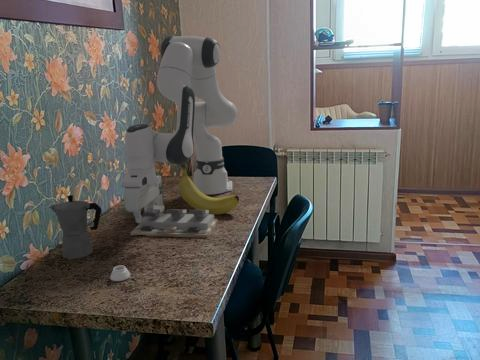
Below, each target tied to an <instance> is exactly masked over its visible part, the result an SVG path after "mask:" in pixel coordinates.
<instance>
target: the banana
mask: <svg viewBox="0 0 480 360" xmlns="http://www.w3.org/2000/svg"><path fill="white" fill-rule="evenodd" d="M188 167H189V166H188V165H187V163H185V164H184V165H180V168H181V170H182V175H181V177H180V180H179V183H178V191H179V194H180V196H181V197H182V199H183V200H184V201H185V202H186V203H187V204H188V205H189V206H190V207H192V208H193V210H209V214H212V215H224V214H227V213H229V212H231V211H233V210H234V209H235V208H236V207H237V206H238V204H240V203H239V202H240V197H239V196H238V195H237V194H233V195H227V196H223V197H214V196H213V197H211V196H209V195H208V194H203V193H202V192H201V191H200V190H199V189H198V188H197V187H196V186H195V184H194V181H193V180H192V179H191V178H190V177H189V176H188V173H187V168H188Z"/></svg>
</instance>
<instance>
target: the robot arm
mask: <svg viewBox="0 0 480 360" xmlns="http://www.w3.org/2000/svg"><path fill="white" fill-rule="evenodd" d="M220 47H221V46H220V44H219V43H218V41H217V40H216V39H214V38H212V37H204V36H198V35H180V36H176V35H170V36H166V37H165V38H164V39H162V42H161V44H160V56H161V61H160V65H159V68H158V73H157V77H156V87H157V90H158V92H160V94H161V95H162V96H163V97H165V98H166V99H168V100H169V101H171V102H173V103H175V105H176V106H177V112H176V129H175V131H174V132H172V133H171V132H170V133H169V132H167V133H166V132H159V131H157V130H154V129H153V128H152V127H151V126H150V125H149V124H146V123H139V124H134V125H130V126H129V127H128V128H126V130H125V135H124V151H125V157H126V160H127V163H126V172H125V175H124V177H123V178H122V179H121V187H122V188H123V193H122V194H123V202H124V208H125V210H126V211H127V212H128V213H132V214H133V216H134V218H135V222H136V223H137V224H139V223H141V222H142V221H143V218H144V216H143V215H142V214H141V213H142V209H144V207H145V206H146V205H147V204H148V208H147V213H153V212H154V203H155V199H156V198H157V197H159V184H158V179H157V177H156V175H157V174H156V164H155V162H158V163H159V162H160V163H165V164H166V163H169V164H174V165H178V166H181V165H184V164H187V163H188V162H189V161H190V160H191V159H192V157H193V155H194V153H195V151H196V159H195V162H196V163H195V166H196V170H195V171H194V172H193V183H194V184H195V186H196V187H197V188H198V189H199V190H200V191H201V192H202V193H203V194H205V195H217V194H218V195H220V194H223V193H227V192H233V181H232V180H230V179H229V178H228V171H227V170H226V168H225V161H224V156H223V150H222V149H223V144H222V141H221V140H220V138H219V137H217V136H215V135H213V134H210V133H209V132H208V130H207V129H208V128H224V127H230V126H233V125H234V124H235V123H236V122H237V119H238V113H239V112H238V109H237V108H238V107H236V105H235V103H233V102H232V101H230V100H228V99H227V98H226V97H225V96H224V95H223V94H222V92H221V90H220V88H219V83H218V78H217V77H218V76H217V71H216V65H217V64H218V63H219V61H220V57H221V48H220ZM196 98H197V99H199V100H202V101H196Z"/></svg>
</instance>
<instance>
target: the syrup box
mask: <svg viewBox="0 0 480 360" xmlns="http://www.w3.org/2000/svg"><path fill="white" fill-rule="evenodd" d="M156 177H157V179H158V184H159V197H157V198H156V199H155V203H154V206H165V202H164V193H163V192H164V191H163V183H162V176H161V175H160V174H156ZM147 208H148V204H147V205H146V206H145V207H143V212H145V211H146V210H147ZM165 212H166V209H164V210H163V211H162V212H161V213H163V214H164V213H165Z"/></svg>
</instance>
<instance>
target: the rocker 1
mask: <svg viewBox="0 0 480 360" xmlns="http://www.w3.org/2000/svg"><path fill="white" fill-rule="evenodd" d="M165 208H166V207H165V205H164V206H154V212H153V213H147V210H146V211H143V212H142V217H145V216H146V217H159V213H161V212H162V211H163V210H166V209H165Z"/></svg>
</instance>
